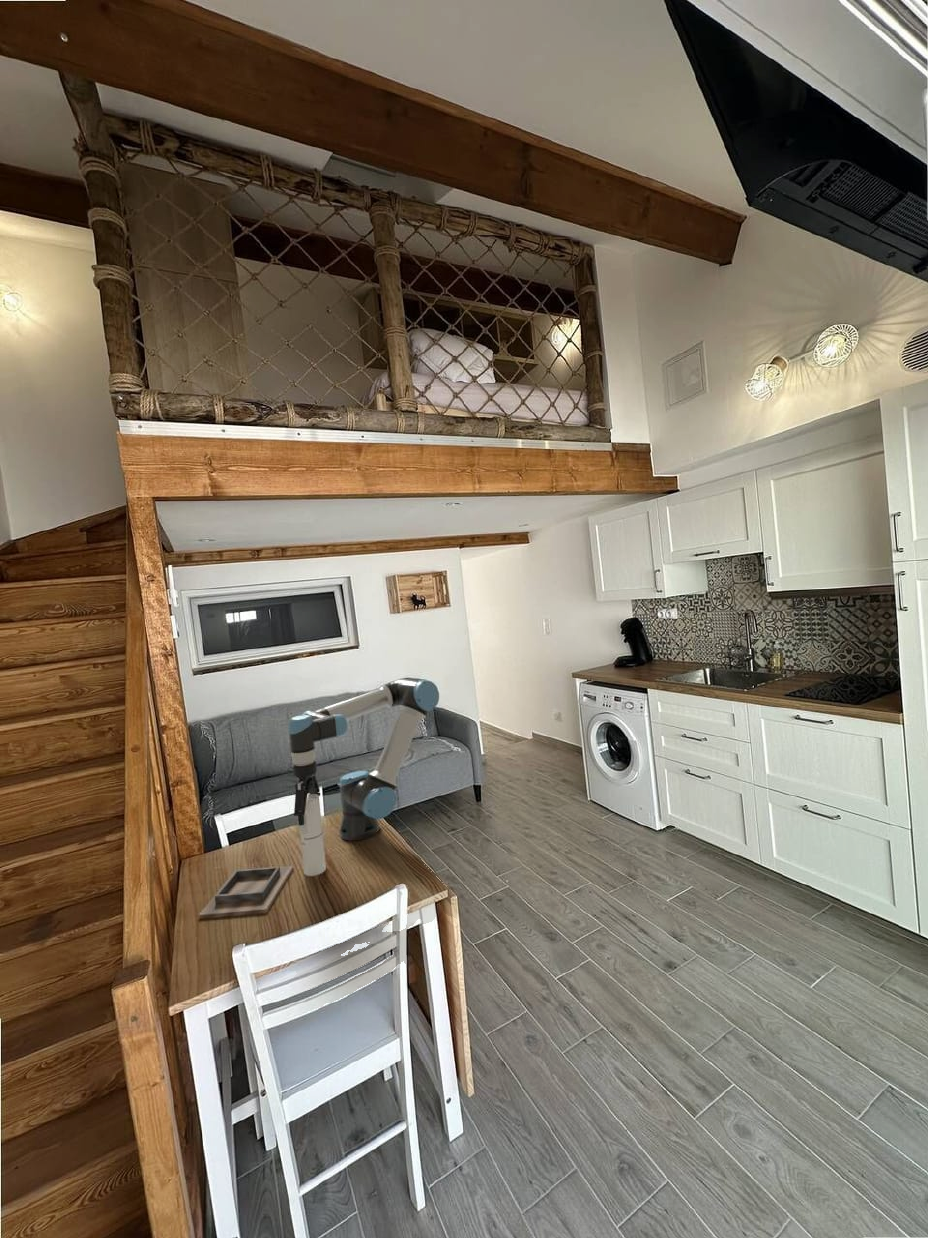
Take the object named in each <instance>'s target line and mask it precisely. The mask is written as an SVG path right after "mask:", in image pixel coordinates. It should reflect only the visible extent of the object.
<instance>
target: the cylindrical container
mask: <svg viewBox="0 0 928 1238" xmlns="http://www.w3.org/2000/svg"><path fill="white" fill-rule="evenodd" d="M305 813H306V818H307V829H308V833H307V834H300V835H299V837H300V847H301V853H302V854H301V857H302V865H303V873H304V875H305V876H307V877H315V876H318V875H321V874H323V873H324V872H325V871H326V869H327V864H326V853H325V843H324V835H323V834H324V832H323V824H322V813H321V803H320V796H319V795H317V794H307V800H306V808H305Z"/></svg>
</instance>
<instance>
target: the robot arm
mask: <svg viewBox="0 0 928 1238" xmlns="http://www.w3.org/2000/svg"><path fill="white" fill-rule="evenodd" d="M439 700H440V693H439V690H438V687H437V685H436V684H435V683H434V682H433V681H432V680H428V679H425V678H416V677H415V678H414V677H403V678H400V679H399V678H398V679H396V680H393V681H390V682H387V683H385V684H381V685H380V686H379V688H378V689H375V690H372V691H369V692H367V693H363V694H360V695H358V696H355V697H352V698H349V699H346V700H342V701H340V702H338V703H334V704H331V705H329V706H326V707H323V708H319V709H317V710H307V711H304V712H303V713H302V714H301V715H297V716H293V717H291V718H290V719H289V720H288V721H289V722H288V728H289V729H288V734H289V742H290V750H291V753H290V755H289V756H290V757H291V761H292V774H293V777H295V778H298V782H296V783H295V785H294V786H295V797H294V811H293V816H294V817H296V818H297V830H298V835H299V836H300V834H307V833H308V829H307V818H306V813H305V808H306V800H307V794H317V795H319V797H321V792H320V791H321V790H320V787H319V783H318V780H317V776H316V772H318V771H317V770H318V769H317V762H316V759H317V757H316V749H315V743H317V742H320V741H321V742H322V741H325V740H329V739H333V738H338V737H340V736H344V735H345V734H346V733H347V731H348V721H351V720H353V719H356V718H358V717H361V716H364V715H366V714H369V713H372V712H374V711H377V710H379V709H380V710H381V709H382V708H387V709H390V708H392V707H396V706H398V709H399V714H398V716H397V718H396V720H395V722H394V725H393V728H392V730H391V732H390V734H389V737H388V739H387V740H386V743H385V745H384V747H383V750H382V752H381V754H380V757H379V759H378V760H377V764H376V766H375V767H374V770H373V771H371V772H369V771H368V770H358V771H353V772H350V773H346V774H344V775H343V776H341V777H340V779H339V793H340V800H341V810H342V817H341V822H340V827H339V837H340V838H341V839H342V840H345V841H351V842H355V841H362V840H366V839H369V838H371V837H373V836H374V835H376V834H377V833H378V832H380V823H379V820H380V819H384V818H386V817H388V816H389V815H390V814H391V813H392V812H393V811H394V809H395V807H396V805H397V799H398V798H397V793H396V788H397V786H398V784H397V782H396V778H397V776H398V774H399V771H400V769H401V767H402V765H403V762H404V759H405V757H406V755H407V753H408V751H409V748H410V746H411V743H412V741H413V739H414V735H415V733H416V732H417V728H418V726H419V724H420V722H421V720H423V719H425V718H426V717H427V715H428V713H429V712H430V711H432V710H433V709H436V707H437V706H438V704H439V702H440V701H439Z"/></svg>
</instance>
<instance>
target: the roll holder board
mask: <svg viewBox="0 0 928 1238" xmlns="http://www.w3.org/2000/svg"><path fill="white" fill-rule="evenodd" d="M293 871H294V865H285V866H271V867H259V868H248V869H247V868H246V869H237V870H234V871H233V872H232V874H231V875H230V876H229V878H228V879H227V880H226V881H225V882H224V883H223V885H222V886H221V887H220V888H219V890H218V891H217V892H216V893H215V895H213V897H212V898H211V899H210V901H209V902H208V903H207V904H206V905H205V907H203V909H202V911H200V913H199V914H198V919H200V920H201V919H203V920H204V919H213V918H224V917H236V916H237V917H238V916H250V915H259V914H260V915H261V914H267V913H268V912H269V910H270V909H271V907H272V905H273V904H274V902H275V901H276V898H278V895H279V894H280V893H281V891H282V889H283V887H284V886H285V884H286V882H287V880H288V879H289V878H290V875H292V872H293Z"/></svg>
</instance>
